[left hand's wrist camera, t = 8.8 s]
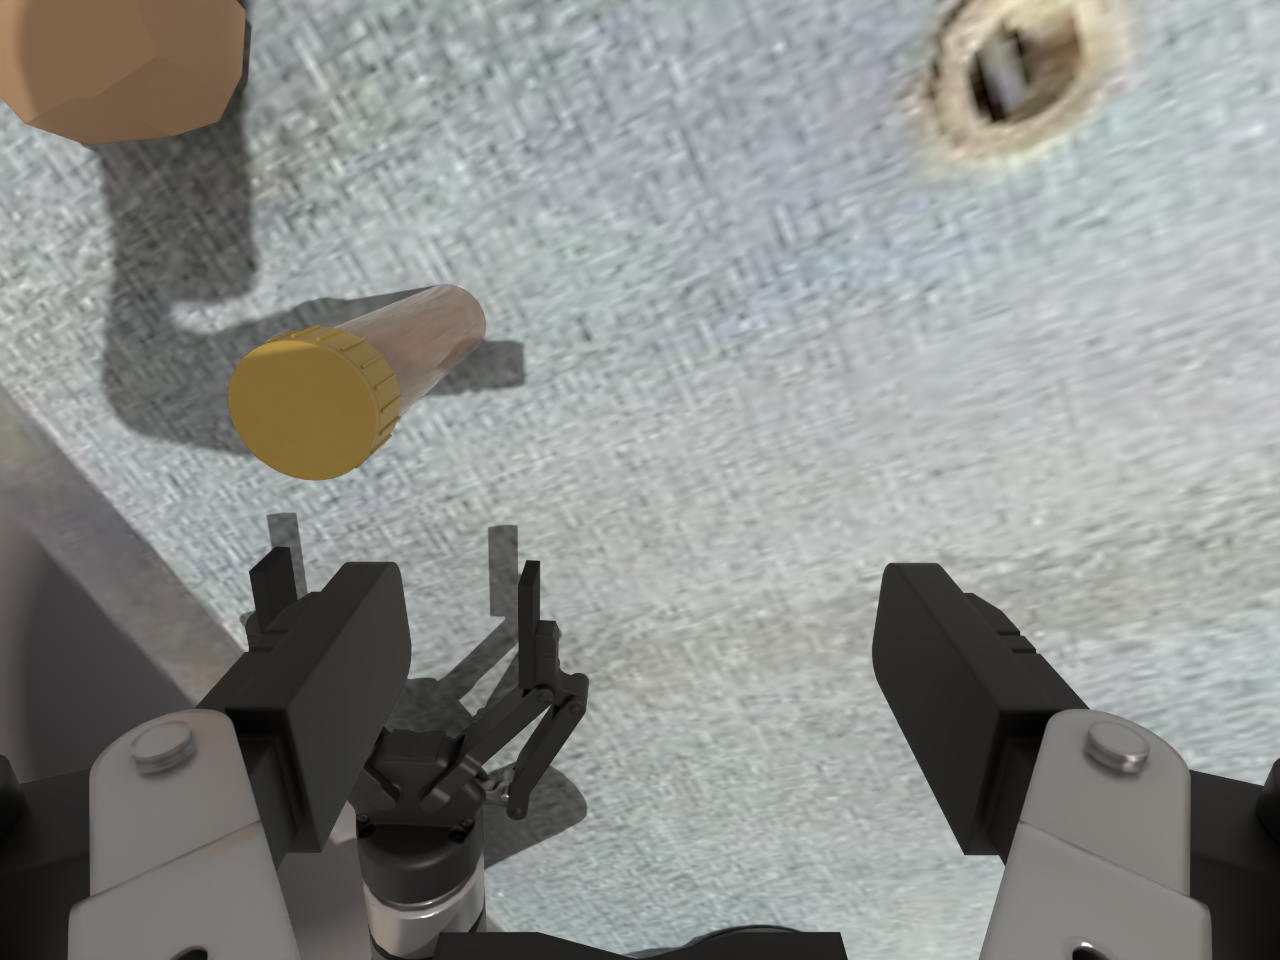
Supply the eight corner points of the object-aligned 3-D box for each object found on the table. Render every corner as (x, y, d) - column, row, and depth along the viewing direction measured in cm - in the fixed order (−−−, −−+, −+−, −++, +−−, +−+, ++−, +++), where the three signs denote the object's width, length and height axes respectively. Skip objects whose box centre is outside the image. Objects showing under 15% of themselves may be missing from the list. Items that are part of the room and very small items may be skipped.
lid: (290, 464, 24) (254, 490, 22) (245, 332, 23) (201, 347, 20) (417, 449, 24) (394, 474, 22) (382, 316, 22) (353, 328, 20)
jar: (422, 362, 38) (268, 474, 22) (405, 289, 37) (225, 354, 21) (492, 353, 38) (386, 460, 22) (477, 280, 36) (352, 338, 21)
